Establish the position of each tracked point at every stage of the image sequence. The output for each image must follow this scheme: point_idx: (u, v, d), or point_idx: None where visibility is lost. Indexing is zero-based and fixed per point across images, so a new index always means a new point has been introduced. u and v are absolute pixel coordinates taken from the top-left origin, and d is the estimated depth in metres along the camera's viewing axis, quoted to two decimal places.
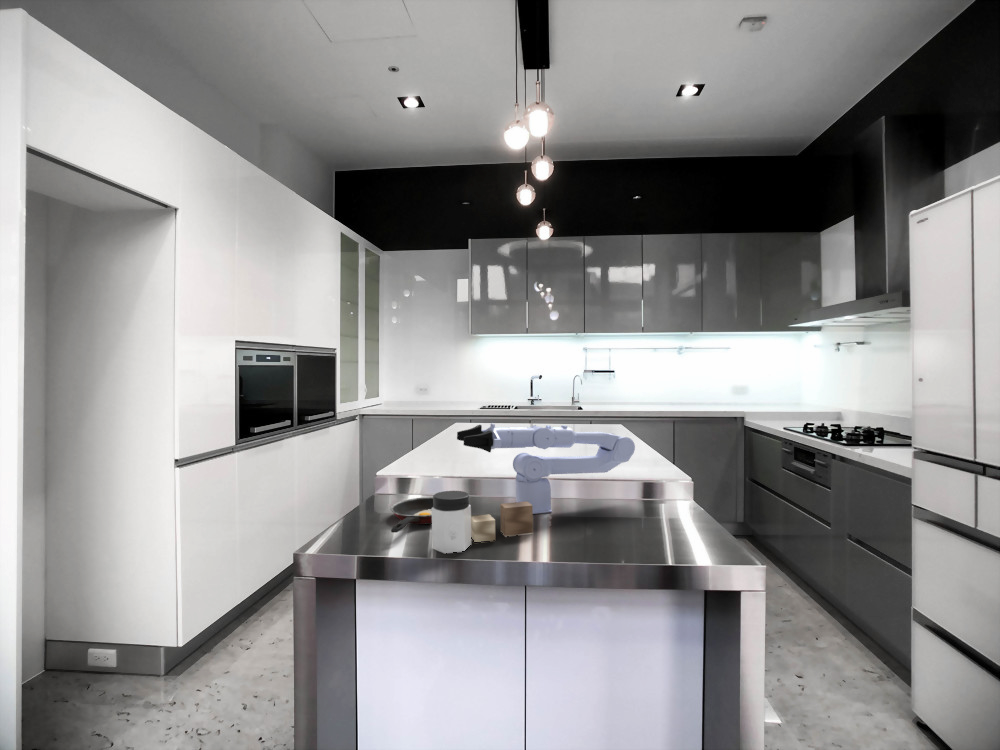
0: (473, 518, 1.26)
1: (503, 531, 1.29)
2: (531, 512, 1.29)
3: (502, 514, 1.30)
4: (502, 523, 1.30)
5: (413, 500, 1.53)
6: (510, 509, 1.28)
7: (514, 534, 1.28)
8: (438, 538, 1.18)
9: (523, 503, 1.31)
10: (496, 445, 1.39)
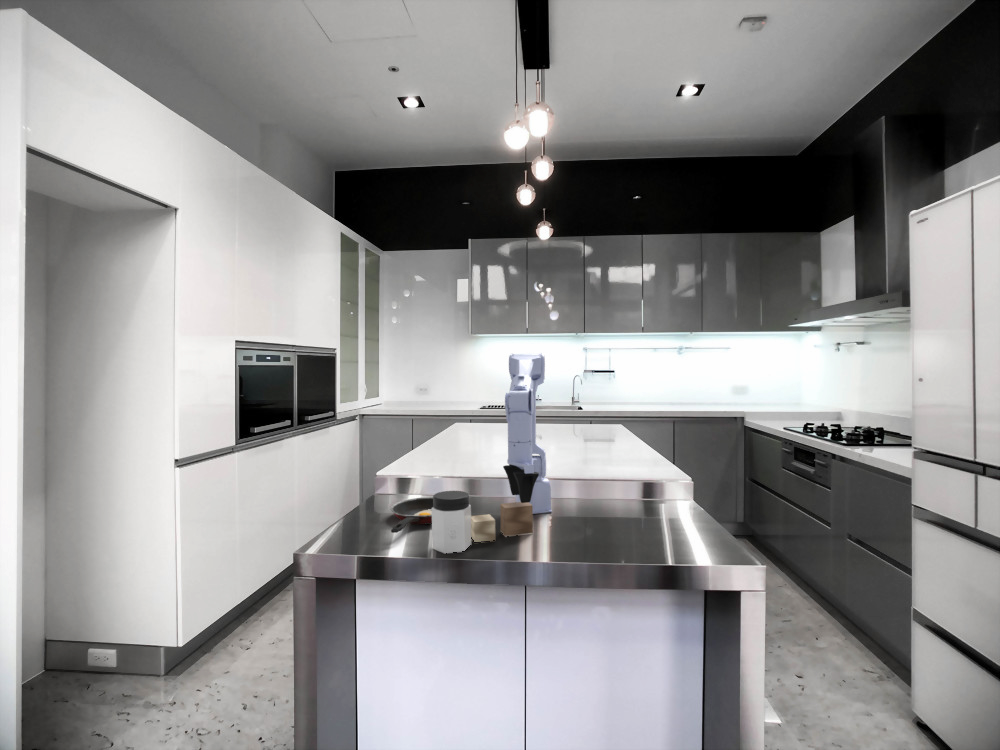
0: (473, 518, 1.26)
1: (503, 531, 1.29)
2: (531, 512, 1.29)
3: (502, 514, 1.30)
4: (502, 523, 1.30)
5: (413, 500, 1.53)
6: (510, 509, 1.28)
7: (514, 534, 1.28)
8: (438, 538, 1.18)
9: (523, 503, 1.31)
10: None
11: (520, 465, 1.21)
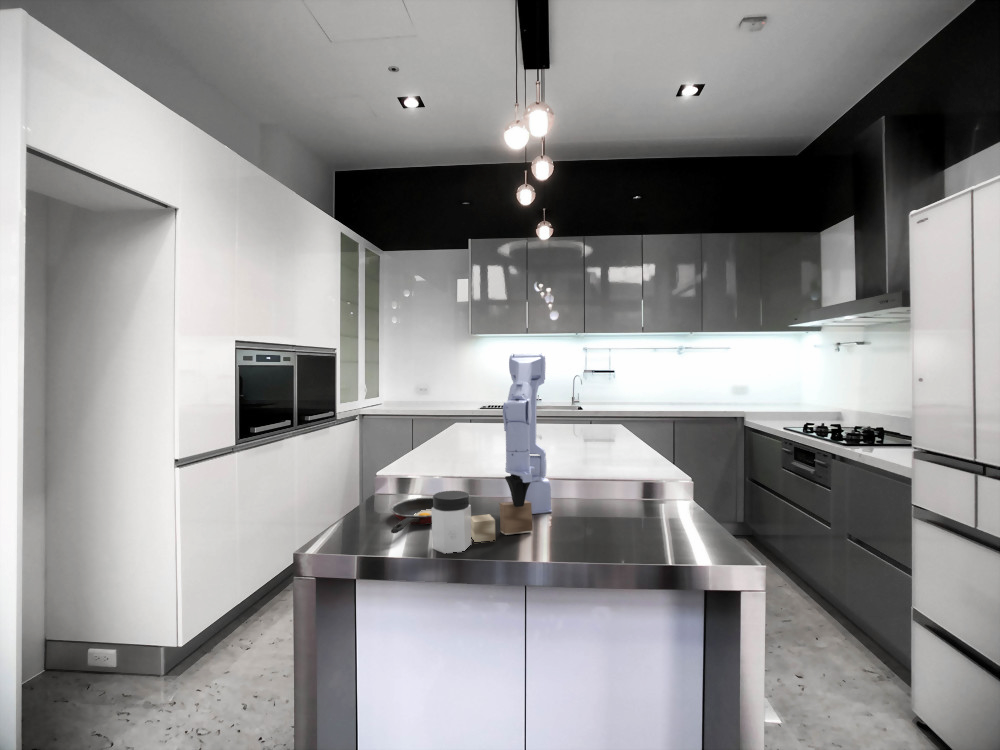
0: (473, 518, 1.27)
1: (503, 529, 1.29)
2: (530, 509, 1.30)
3: (501, 512, 1.31)
4: (502, 522, 1.30)
5: (413, 500, 1.53)
6: (509, 506, 1.29)
7: (514, 532, 1.28)
8: (438, 538, 1.18)
9: None
10: None
11: (518, 474, 1.23)
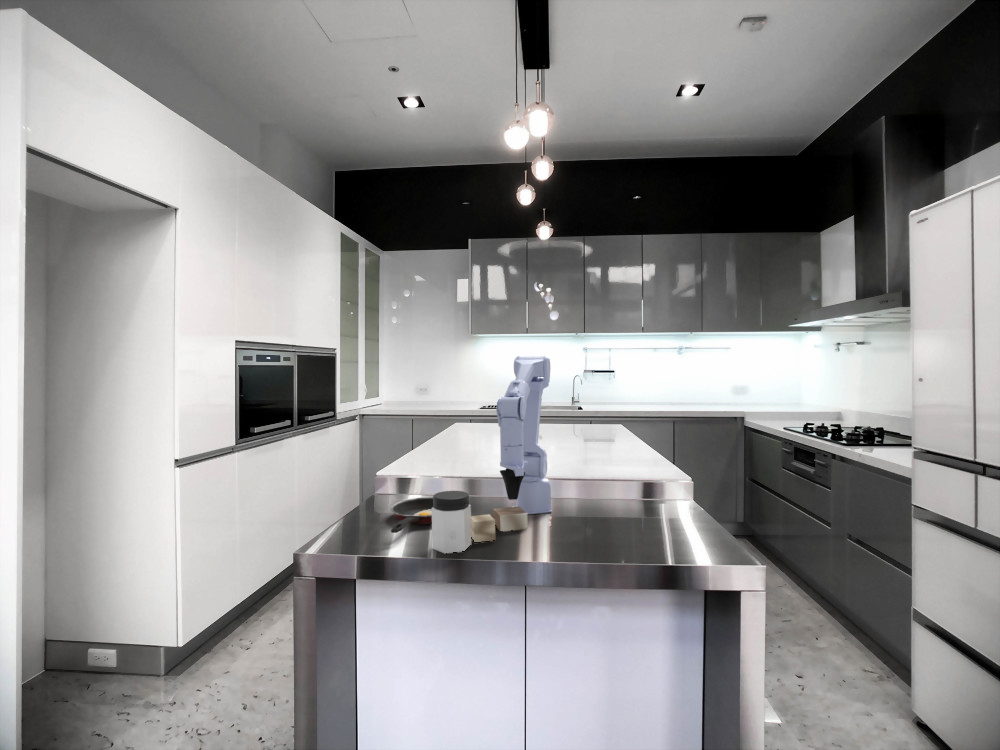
0: (473, 518, 1.26)
1: (499, 521, 1.32)
2: (519, 508, 1.38)
3: (495, 520, 1.36)
4: (497, 522, 1.34)
5: (413, 500, 1.53)
6: (499, 508, 1.38)
7: (508, 514, 1.33)
8: (438, 538, 1.18)
9: None
10: None
11: (511, 468, 1.28)
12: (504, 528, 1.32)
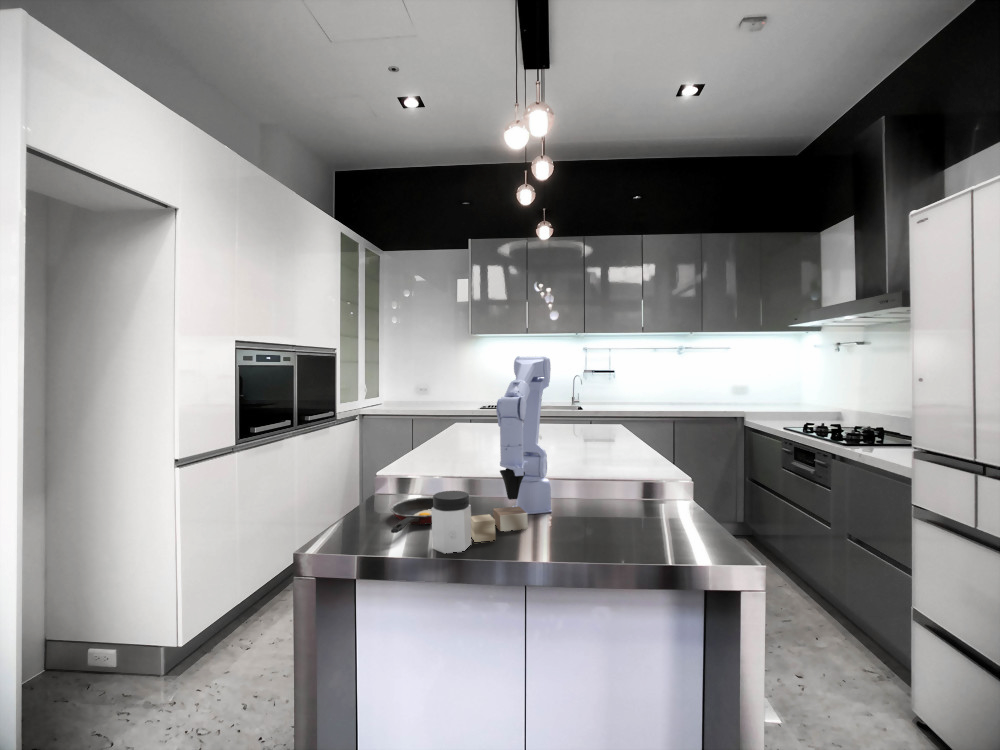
0: (473, 518, 1.26)
1: (499, 521, 1.32)
2: (519, 508, 1.38)
3: (495, 520, 1.36)
4: (497, 522, 1.34)
5: (413, 500, 1.53)
6: (499, 508, 1.38)
7: (509, 514, 1.33)
8: (438, 538, 1.18)
9: None
10: None
11: (511, 468, 1.28)
12: (504, 528, 1.32)
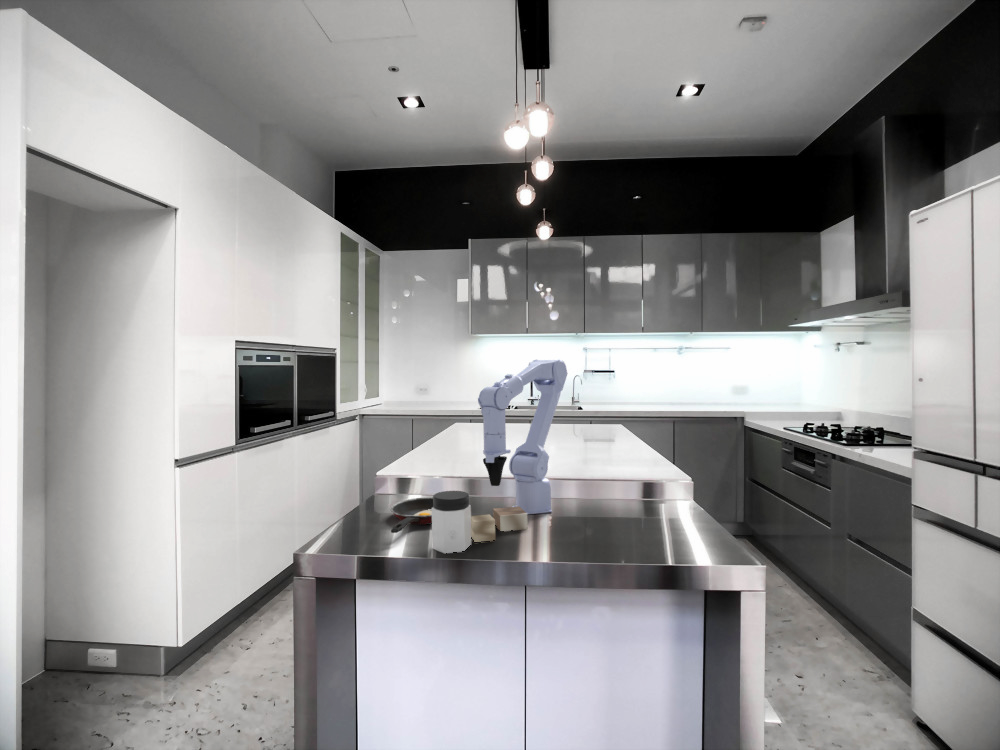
0: (473, 518, 1.26)
1: (499, 521, 1.32)
2: (519, 508, 1.38)
3: (495, 520, 1.36)
4: (497, 522, 1.34)
5: (413, 500, 1.53)
6: (499, 508, 1.38)
7: (508, 514, 1.33)
8: (438, 538, 1.18)
9: None
10: None
11: (485, 455, 1.33)
12: (504, 528, 1.32)
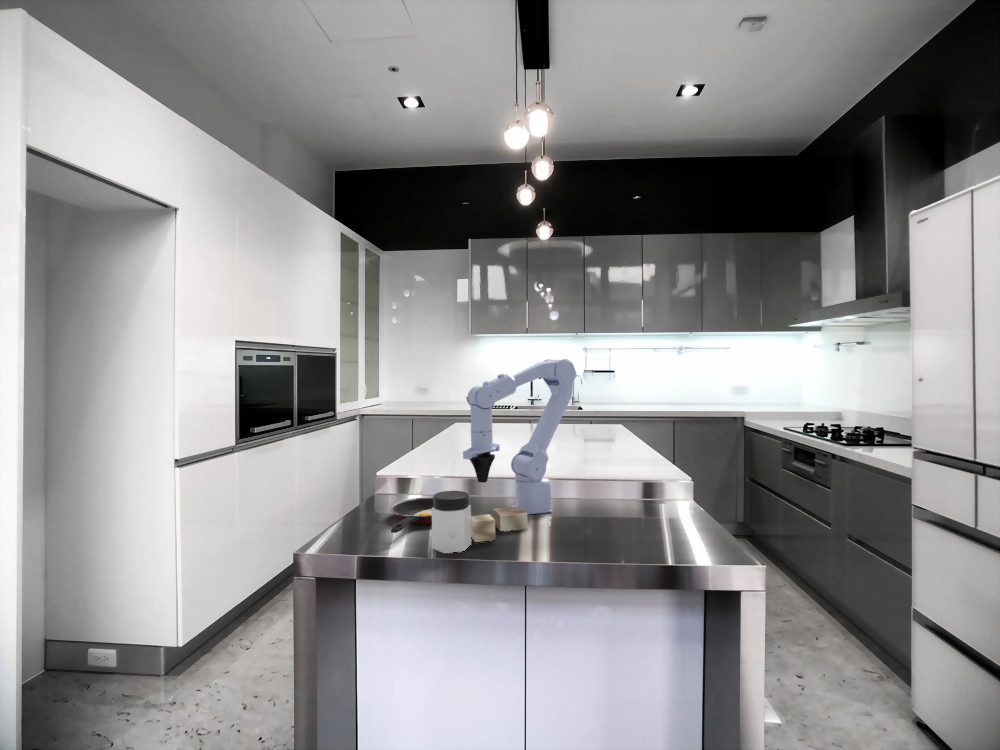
0: (473, 518, 1.26)
1: (499, 521, 1.32)
2: (519, 508, 1.38)
3: (495, 520, 1.36)
4: (497, 522, 1.34)
5: (413, 500, 1.53)
6: (499, 508, 1.38)
7: (508, 514, 1.32)
8: (438, 538, 1.18)
9: None
10: None
11: None
12: (504, 528, 1.32)
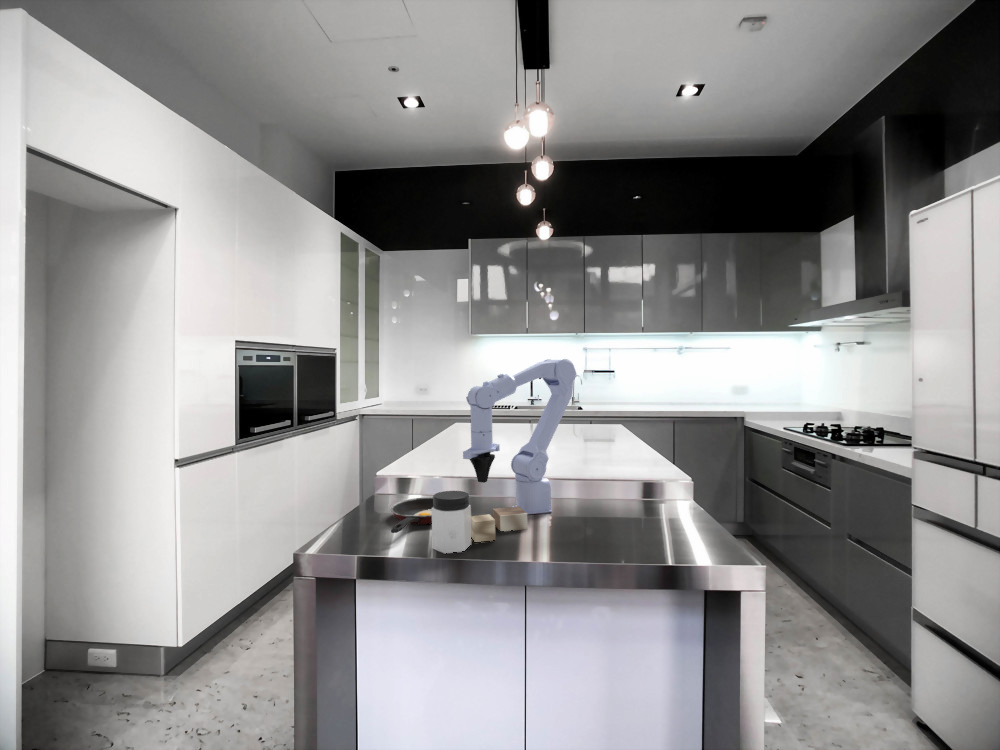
0: (473, 518, 1.26)
1: (499, 521, 1.32)
2: (519, 508, 1.38)
3: (495, 520, 1.36)
4: (497, 522, 1.34)
5: (413, 500, 1.53)
6: (499, 508, 1.38)
7: (508, 514, 1.32)
8: (438, 538, 1.18)
9: None
10: None
11: None
12: (504, 528, 1.32)
